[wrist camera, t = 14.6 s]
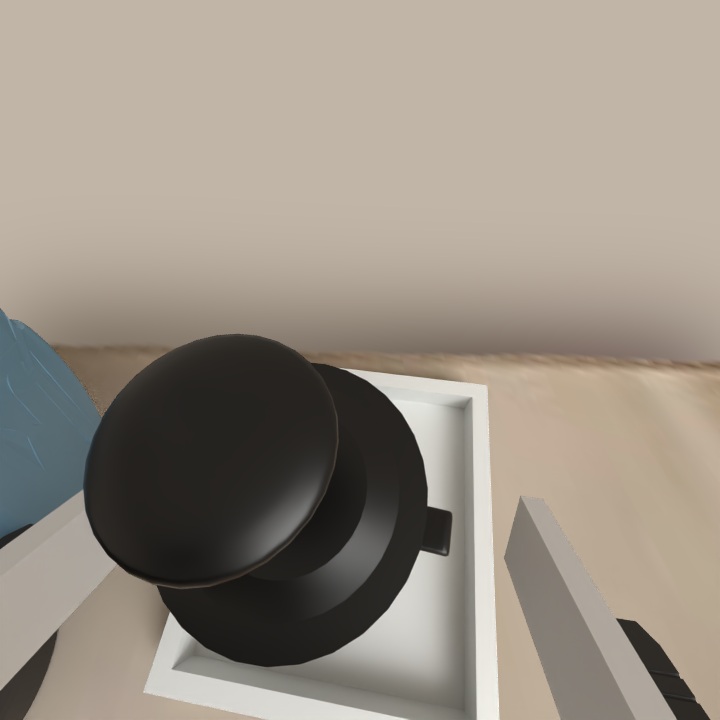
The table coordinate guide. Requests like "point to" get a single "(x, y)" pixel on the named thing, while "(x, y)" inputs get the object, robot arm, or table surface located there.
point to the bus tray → (405, 615)
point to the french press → (261, 497)
